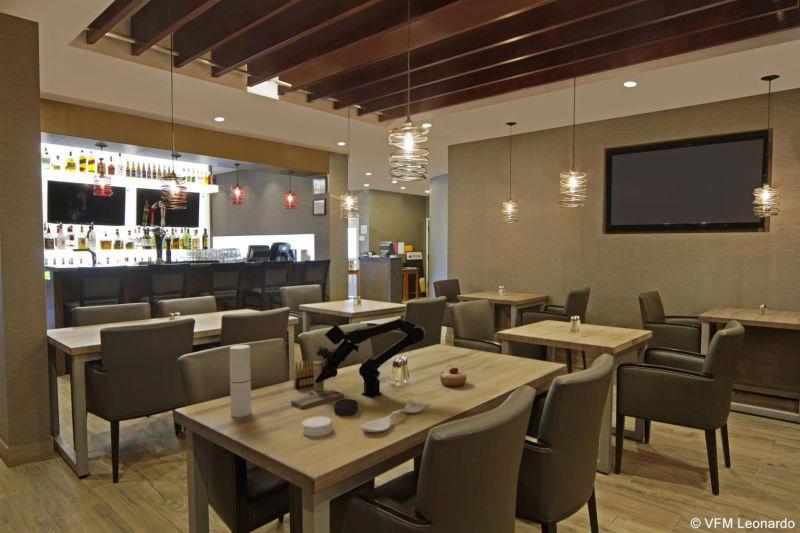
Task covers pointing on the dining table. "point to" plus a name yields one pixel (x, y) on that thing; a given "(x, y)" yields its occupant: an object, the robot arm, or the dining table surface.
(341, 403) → the smart speaker
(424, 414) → the dining table surface
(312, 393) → the beige round-topped column
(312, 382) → the ammunition clip
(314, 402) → the walnut plank
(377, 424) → the white spork
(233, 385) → the cylindrical container
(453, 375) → the pastry
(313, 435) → the coaster
